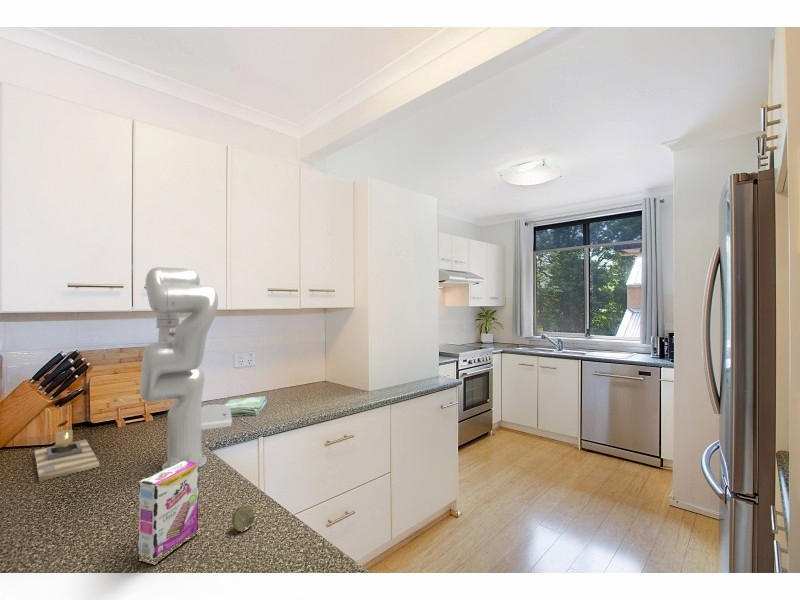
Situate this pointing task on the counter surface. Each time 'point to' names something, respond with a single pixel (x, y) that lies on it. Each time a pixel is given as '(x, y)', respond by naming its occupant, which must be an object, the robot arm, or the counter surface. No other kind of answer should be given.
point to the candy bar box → (167, 508)
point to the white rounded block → (215, 416)
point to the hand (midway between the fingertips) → (168, 368)
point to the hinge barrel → (64, 440)
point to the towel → (246, 405)
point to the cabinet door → (64, 460)
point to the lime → (242, 518)
